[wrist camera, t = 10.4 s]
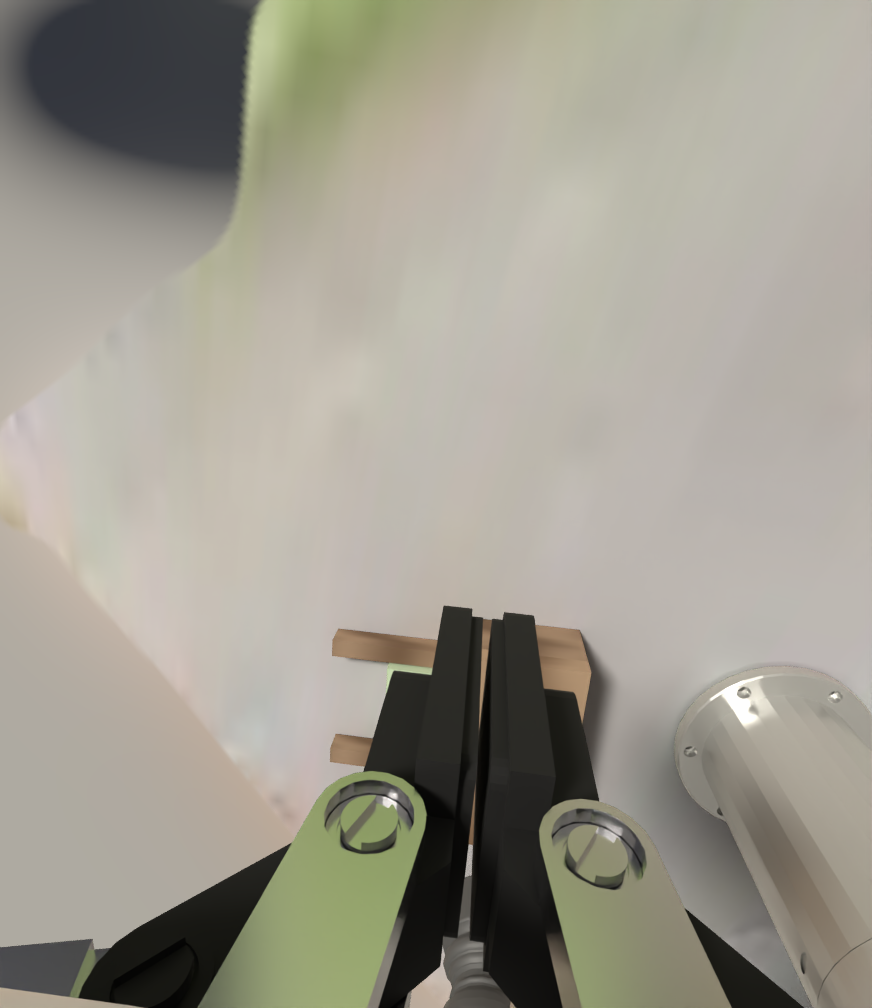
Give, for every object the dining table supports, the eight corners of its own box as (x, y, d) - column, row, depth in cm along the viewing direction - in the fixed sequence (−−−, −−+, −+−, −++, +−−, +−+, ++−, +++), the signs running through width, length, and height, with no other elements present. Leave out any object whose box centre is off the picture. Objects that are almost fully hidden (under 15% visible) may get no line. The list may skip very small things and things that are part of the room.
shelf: (335, 768, 43) (315, 822, 39) (339, 602, 39) (318, 640, 34) (550, 797, 42) (557, 856, 37) (579, 630, 38) (591, 673, 33)
